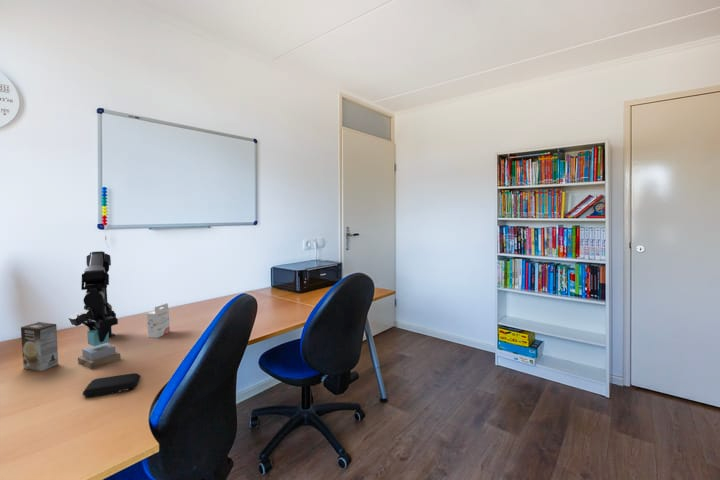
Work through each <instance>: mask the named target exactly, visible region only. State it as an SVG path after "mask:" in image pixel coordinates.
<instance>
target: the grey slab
mask: <svg viewBox="0 0 720 480" xmlns="http://www.w3.org/2000/svg"><path fill="white" fill-rule="evenodd" d="M81 351H82V356H83V357H85V358H87V359H89V360H91V361H93V360H97V359H100V358H103V357H106V356H110V355H113V354H116V352H117V351H116V345H113V344H110V342H108V343H104V344H101V345H98V346H92V345H90V346H87V347H84V348H81Z"/></svg>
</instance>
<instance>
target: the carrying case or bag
mask: <svg viewBox="0 0 720 480" xmlns="http://www.w3.org/2000/svg"><path fill="white" fill-rule="evenodd" d="M141 376H142V375H141V374H139V373H137V372H135V373H134V372H132V373H126V374H119V375H111V376H106V377H99V378H95V379H93V380H91V381H90V382H89V383H88V384H87V386H86V387H85V388H84V390H82V396H83V397H85V398H95V397H100V396H107V395H112V394H118V393H119V394H120V393H124V392H125V391H126V392H131V391H133V390H135V388H136V387H138V384H139V382H140V380H141V378H142V377H141Z"/></svg>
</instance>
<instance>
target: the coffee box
mask: <svg viewBox="0 0 720 480" xmlns="http://www.w3.org/2000/svg"><path fill="white" fill-rule="evenodd" d="M57 329H58V327H57V324H56V323H49V322H43V321H41V322H40V321H38V322H34V323H31V324H28V325H24V326H20V336H21V349H22V351H21V352H22V353H21V354H22V366H23V369H25V370H26V369H27V370H31V371H40V372H42V371H45V370H47V369H48V370H49V369H50V368H52V367H55V366H57V365H59V352H58V351H59V349H58V330H57Z"/></svg>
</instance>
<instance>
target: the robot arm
mask: <svg viewBox="0 0 720 480" xmlns="http://www.w3.org/2000/svg"><path fill="white" fill-rule="evenodd" d="M85 259H86V268H85V269H84V271H83V272H82V273H81V289H80V290H81V291H84V290H85V295H84V298H83V304H84V306H83V309H81V310H80V311H77V312H76V313H72V314H71V315H70V316H68V317H67V318H68V320H69V322H70V324H71V325H72V326H75V327H78V326H80V325H83V326H86V327H87V329H88V331H91V330H95V329H97V331H98V336H99V340H100V342H103V341H104V340H105V338H106V336H107V334H108V332H109V338H110V337H114V336H116V334H115V333H113V330H112V326H115V325H119V319H118V318H117V314H116V312H115V310H113V306H112V305H111V304H110V303H109V302H108V290H107V288H108V286H110V274H109V270H110V266H111V265H112V257H111V255H110V254H108V253H105V251H103V250H101V251H91V252H89V254H88V255H86V258H85Z"/></svg>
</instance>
